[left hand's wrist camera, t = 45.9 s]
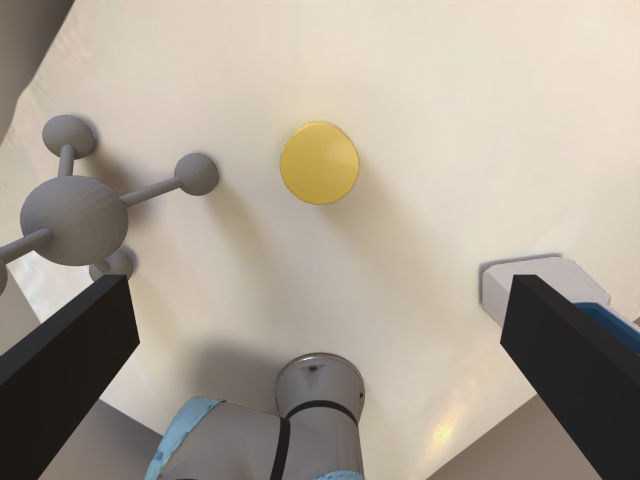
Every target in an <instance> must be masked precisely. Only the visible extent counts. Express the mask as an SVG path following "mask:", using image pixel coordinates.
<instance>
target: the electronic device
mask: <svg viewBox="0 0 640 480" xmlns="http://www.w3.org/2000/svg"><path fill="white" fill-rule="evenodd" d="M513 274H536V275H537V276H539V277H540V278H541V279H542V280H544V281H545V282H546V283H547V284H549V285H550V286H551V287H552V288H554V289H555V290H556V291H558V292H559V293H560V294H561V295H563V296H564V297H565V298H566V299H568V300H569V301H570V302H571V303H573V304H574V305H575V306H576V307H578V308H579V309H580V310H582V311H583V312H584V313H585V314H587V315H588V316H589V317H590V318H592V319H593V320H594V321H595V322H597V323H598V324H599V325H600V326H602V327H603V328H604V329H605V330H607V331H608V332H609V333H611V334H612V335H613V336H614V337H616V338H617V339H618V340H619V341H621V342H622V343H623V344H624V345H626V346H627V347H628V348H629V349H631V350H632V351H633V352H635V353H636V354H640V327H638V326H637V325H636V324H634V323H633V322H631V321H630V320H628V319H627V318H626V317H624V316H623V315H621V314H620V313H619V312H617V311H616V310H614V309H613V308H611V307H610V300H611V296H610V295H609V294H608V293H607V292H606V291H605V290H604V289H603V288H602V287H601V286H600V285H599V284H598V283H597V282H596V281H595V280H594V279H593V278H592V277H590V276H589V275H588V274H587V273H586V272H585V271H584V270H583V269H582V268H581V267H580V266H579V265H578V264H577V263H576V262H575V261H573V260H569V259H565V258H560V257H549V258H542V259H534V260H527V261H519V262H512V263H504V264H497V265H493V266H491V267H490V268H488V269H487V270H486V271H485V272H484V273H483V274H482V309H483V310H484V311H485V312H486V313H487V314H488V315H489V316H490V317H491V318H492V319H493V320H494V321H495V322H496V323H497V324H498V325H499V326H500V327H501V328H502V329H503V325H504V320H505V315H506V310H507V305H508V300H509V295H510V289H511V284H512V279H513Z"/></svg>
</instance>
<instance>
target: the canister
mask: <svg viewBox="0 0 640 480" xmlns="http://www.w3.org/2000/svg"><path fill="white" fill-rule="evenodd" d="M280 170H281V175H282V178H283V181H284V183H285V185H286V186H287V188H288V189H289V190H290V192H291V193H292V194H293V195H294V196H296V197H297V198H299V199H300V200H302V201H304V202H307V203H310V204H316V205H323V204H329V203H333V202H335V201H337V200H339V199H341V198H342V197H344V196H345V195H346V194H347V193H348V192H349V191H350V190H351V188H352V187H353V185H354V184H355V181H356V179H357V176H358V172H359V158H358V154H357V151H356V148H355V146H354V145H353V143H352V142H351V140H350V139H349V138H348V137H347V135H346V134H345V133H344V132H343V131H342V130H341V129H340V128H339V127H337V126H336V125H334V124H331V123H328V122H324V121H316V122H311V123H308V124H306V125H304V126H302V127H301V128H299V129H298V130H297V131H296V132H295V133H294V135H293V136H292V137H291V138H290V139H289V141H288V142H287V144H286V145H285V147H284V149H283V152H282V155H281V161H280Z"/></svg>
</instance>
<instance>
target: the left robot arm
mask: <svg viewBox="0 0 640 480" xmlns="http://www.w3.org/2000/svg"><path fill="white" fill-rule="evenodd" d="M139 344H140V340H139V335H138V330H137V325H136V320H135V315H134V310H133V305H132V300H131V295H130V289H129V284H128V279H127V274H104V275H103V276H101V277H100V278H99V279H98V280H96V281H95V282H94V283H93V284H91V285H90V286H89V287H87V288H86V289H85V290H84V291H82V292H81V293H80V294H79V295H77V296H76V297H75V298H74V299H72V300H71V301H70V302H69V303H67V304H66V305H65V306H64V307H62V308H61V309H60V310H58V311H57V312H56V313H55V314H53V315H52V316H51V317H50V318H48V319H47V320H46V321H45V322H43V323H42V324H41V325H40V326H38V327H37V328H36V329H35V330H33V331H32V332H31V333H29V334H28V335H27V336H26V337H24V338H23V339H22V340H21V341H19V342H18V343H17V344H16V345H14V346H13V347H12V348H11V349H9V350H8V351H7V352H6V353H4V354H3V355H2V356H0V480H38V478H39V477H40V476H41V474H42V473H43V472H44V470H45V469H46V468H47V466H48V465H49V464H50V462H51V461H52V460H53V458H54V457H55V456H56V454H57V453H58V452H59V450H60V449H61V448H62V446H63V445H64V444H65V442H66V441H67V440H68V438H69V437H70V436H71V434H72V433H73V432H74V430H75V429H76V428H77V426H78V425H79V424H80V422H81V421H82V420H83V418H84V417H85V416H86V414H87V413H88V412H89V410H90V409H91V408H92V406H93V405H94V404H95V402H96V401H97V400H98V398H99V397H100V396H101V394H102V393H103V392H104V390H105V389H106V388H107V386H108V385H109V384H110V382H111V381H112V380H113V378H114V377H115V376H116V374H117V373H118V372H119V370H120V369H121V368H122V366H123V365H124V364H125V362H126V361H127V360H128V358H129V357H130V356H131V354H132V353H133V352H134V350H135V349H136V348H137V346H138V345H139ZM500 344H501V345H502V346H503V348H504V349H505V350H506V352H507V353H508V354H509V356H510V357H511V358H512V360H513V361H514V362H515V364H516V365H517V366H518V368H519V369H520V370H521V372H522V373H523V374H524V376H525V377H526V378H527V380H528V381H529V382H530V384H531V385H532V386H533V388H534V389H535V390H536V392H537V393H538V394H539V396H540V397H541V398H542V400H543V401H544V402H545V404H546V405H547V406H548V408H549V409H550V410H551V412H552V413H553V414H554V416H555V417H556V418H557V420H558V421H559V422H560V424H561V425H562V426H563V428H564V429H565V430H566V432H567V433H568V434H569V436H570V437H571V438H572V440H573V441H574V442H575V444H576V445H577V446H578V448H579V449H580V450H581V452H582V453H583V454H584V456H585V457H586V458H587V460H588V461H589V462H590V464H591V465H592V466H593V468H594V469H595V470H596V472H597V473H598V474H599V476H600V477H601V478H602V480H640V354H636V353H635V352H633V351H632V350H631V349H629V348H628V347H627V346H626V345H624V344H623V343H622V342H621V341H619V340H618V339H617V338H616V337H614V336H613V335H612V334H611V333H609V332H608V331H607V330H605V329H604V328H603V327H602V326H600V325H599V324H598V323H597V322H595V321H594V320H593V319H592V318H590V317H589V316H588V315H587V314H585V313H584V312H583V311H582V310H580V309H579V308H578V307H576V306H575V305H574V304H573V303H571V302H570V301H569V300H568V299H566V298H565V297H564V296H563V295H561V294H560V293H559V292H558V291H556V290H555V289H554V288H552V287H551V286H550V285H549V284H547V283H546V282H545V281H544V280H542V279H541V278H540V277H539V276H537V275H536V274H513V279H512V284H511V289H510V295H509V300H508V305H507V310H506V315H505V320H504V325H503V330H502V335H501V340H500ZM275 399H276V405H277V408H278V411H279V414H280V417H279V416H276V415H272V414H268V413H265V412H261V411H257V410H253V409H250V408H246V407H242V406H238V405H235V404H231V403H227V402H226V400H223V399H220V400H216V399H211V398H206V397H201V396H198V397H194V398H192V399H190V400H189V401H187V402H186V403H185V404H184V405H183V406H182V408H181V409H180V410H179V412H178V413H177V415H176V416H175V418H174V419H173V421H172V423H171V424H170V426H169V428H168V429H167V431H166V433H165V435H164V437H163V439H162V441H161V443H160V445H159V447H158V450H157V453H156V454H155V456H154V458H153V460H152V462H151V464H150V466H149V468H148V471H147V474H146V476H145V480H365V478H364V470H363V462H362V454H361V446H360V438H359V431H358V424H359V420H360V417H361V413H362V409H363V406H364V401H365V389H364V383H363V379H362V377H361V375H360V373H359V371H358V370H357V369H356V368H355V367H354V366H353V365H352V364H351V363H350V362H348V361H347V360H345V359H343V358H341V357H338V356H335V355H331V354H324V353H316V354H309V355H305V356H302V357H299V358H297V359H295V360H294V361H292V362H291V363H289V364H288V365H287V366H286V367H285V368H284V369H283V370H282V372H281V373H280V375H279V377H278V380H277V384H276V390H275Z"/></svg>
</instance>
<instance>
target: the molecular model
mask: <svg viewBox="0 0 640 480" xmlns="http://www.w3.org/2000/svg"><path fill="white" fill-rule="evenodd" d="M42 137H43V141H44V143H45V145H46V147H47V148H48V149H49V150H50V151H51V152H52V153H53V154H55V155H56V156H58V157H60V164H59V171H58V177H56V178H53V179H51V180H49V181H46V182H44V183H42V184H41V185H39V186H38V187H36V188H35V189H34V190H33V191H32V192H31V193H30V194H29V196H28V197H27V198H26V200H25V202H24V204H23V207H22V209H21V214H20V225H21V229H22V233H23V235H24V237H23V238H21V239H19V240H16V241H14V242H12V243H10V244H7V245H5V246H3V247H1V248H0V296H1V294H2V293H3V291H4V289H5V287H6V284H7V279H8V277H7V269H6V266H5V264H7V263H9V262H11V261H13V260H15V259H17V258H19V257H21V256H23V255H25V254H27V253H29V252H31V251H33V250H34V251H35V252H37V253H38V254H39V255H40V256H42V257H44V258H46V259H47V260H49V261H52V262H54V263H57V264H61V265H66V266H84V265H90V266H89V274H90V276H91V278H92V280H93V281H94V282H95V281H96V280H98V279H99V278H100V277H101V276H103V275H104V274H127V279H128V280H129V279H130V277H131V275H132V272H133V264H132V261H131V259H130V258H129V257H128V256H127V255H126V254H125V253H123V252H121V251H118V250H117V249H118V248H119V247H120V246H121V244H122V242H123V241H124V239H125V236H126V234H127V230H128V215H127V211H126V207H128V206H131V205H134V204H137V203H139V202H142V201H145V200H147V199H150V198H153V197H155V196H158V195H161V194H164V193H166V192H169V191H172V190H174V189H177V188H181V189H182V190H183V191H184V192H186V193H188V194H190V195H194V196H201V195H205V194H207V193H209V192H211V191H212V190H213V189H214V187H215V186H216V184H217V182H218V170H217V167H216V165H215V164H214V162H213V161H212V160H211V159H210V158H208V157H207V156H205V155H202V154H189V155H186V156H184V157H183V158H181V159H180V160H179V162H178V163H177V165H176V168H175V173H174V174H175V178H172V179H169V180H166V181H163V182H160V183H157V184H155V185H152V186H149V187H146V188H143V189H140V190H137V191H134V192H131V193H129V194H126V195H123V196H120V197H119V196H118V195H117V193H116V192H114V191H113V190H112V189H111V188H110V187H108V186H107V185H105V184H104V183H102V182H100V181H98V180H95V179H93V178H88V177H84V176H73V175H72V174H73V164H74V160H77V159H81V158H83V157H85V156H87V155H88V154H89V153H90V152H91V151H92V149H93V146H94V135H93V132H92V131H91V129H90V128H89V126H88V125H87V124H86V123H85V122H83V121H82V120H80V119H78V118H76V117H73V116H68V115H61V116H56V117H54V118H52V119H50V120H49V121H48V122H47V123H46V124H45V126H44V128H43V132H42Z"/></svg>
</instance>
